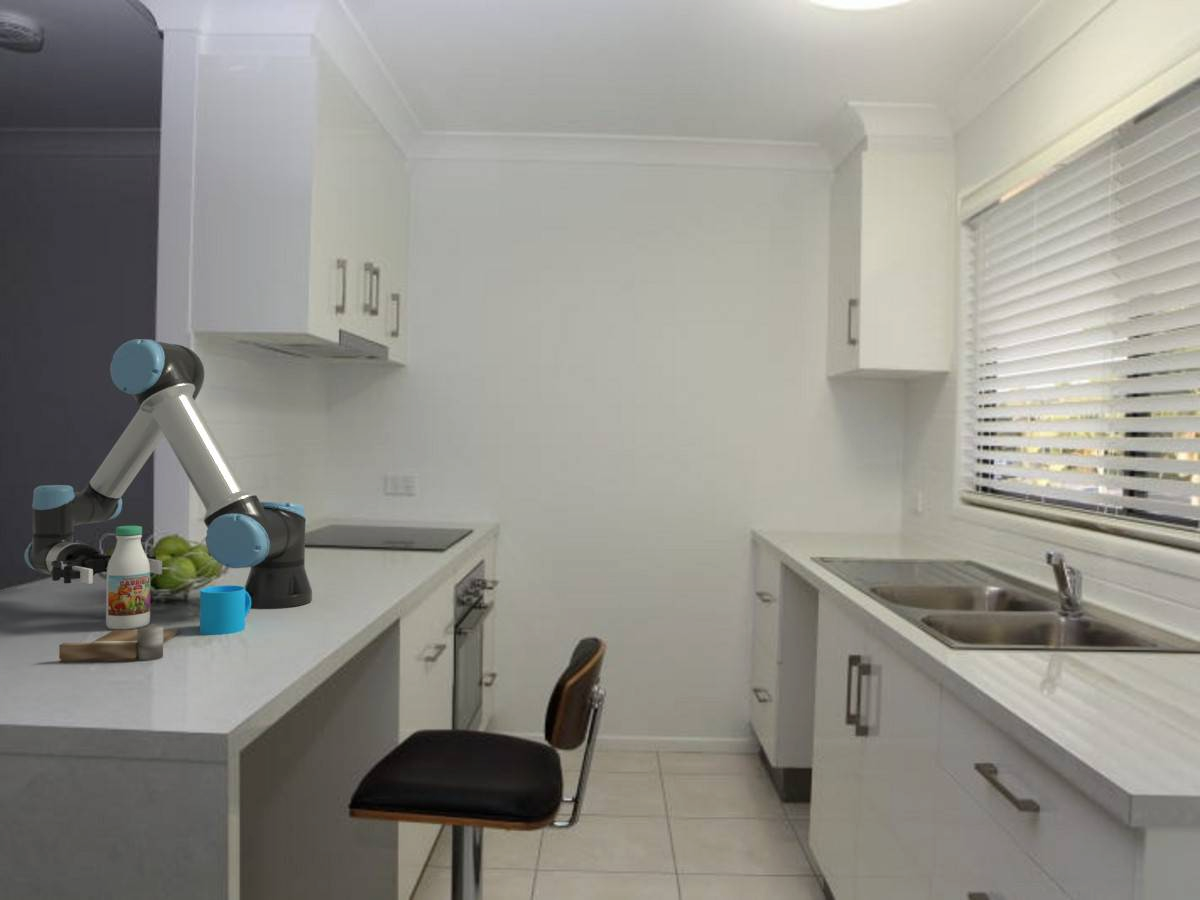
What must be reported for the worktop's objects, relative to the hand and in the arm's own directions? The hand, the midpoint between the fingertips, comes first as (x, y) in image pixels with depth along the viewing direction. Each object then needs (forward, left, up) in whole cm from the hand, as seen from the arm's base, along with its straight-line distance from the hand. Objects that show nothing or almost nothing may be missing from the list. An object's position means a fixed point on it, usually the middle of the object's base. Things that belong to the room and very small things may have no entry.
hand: (126, 571), depth 168 cm
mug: (-20, +2, -11) cm, 23 cm away
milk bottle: (0, 0, -11) cm, 11 cm away
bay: (-8, +16, -11) cm, 21 cm away
